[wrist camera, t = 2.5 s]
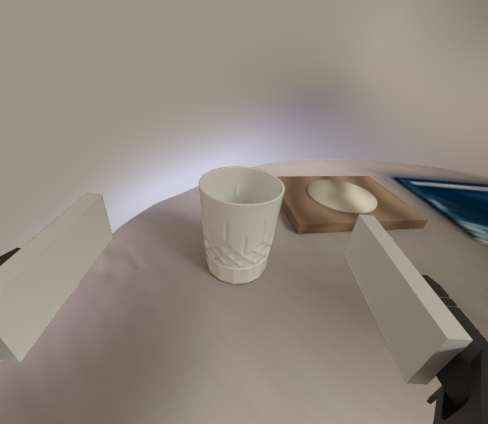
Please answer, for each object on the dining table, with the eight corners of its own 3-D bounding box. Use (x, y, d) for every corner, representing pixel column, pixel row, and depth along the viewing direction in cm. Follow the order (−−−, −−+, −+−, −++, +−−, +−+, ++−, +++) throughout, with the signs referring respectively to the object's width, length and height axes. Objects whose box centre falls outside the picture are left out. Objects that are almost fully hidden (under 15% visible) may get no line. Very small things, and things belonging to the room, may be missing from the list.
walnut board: (366, 183, 49) (369, 174, 48) (423, 227, 37) (429, 217, 36) (269, 183, 46) (271, 175, 45) (297, 233, 33) (299, 222, 32)
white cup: (270, 294, 25) (287, 209, 19) (193, 284, 25) (188, 199, 19) (270, 243, 31) (283, 170, 26) (209, 236, 31) (209, 162, 26)
